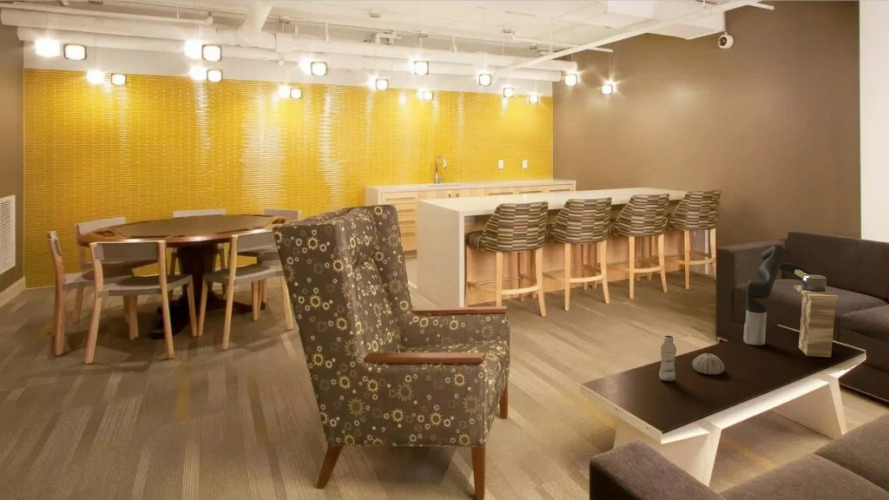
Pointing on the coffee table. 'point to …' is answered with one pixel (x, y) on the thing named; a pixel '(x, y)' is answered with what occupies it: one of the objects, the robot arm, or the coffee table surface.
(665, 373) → the plastic bottle
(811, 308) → the stand
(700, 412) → the coffee table surface
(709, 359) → the sea urchin shell
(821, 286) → the saucepan
